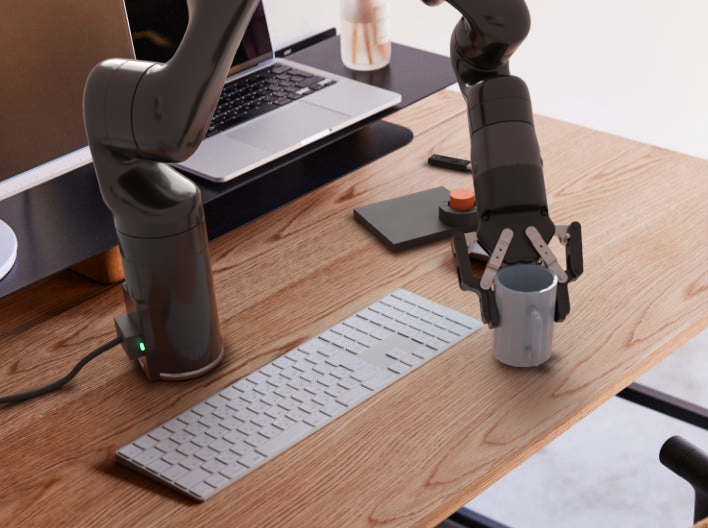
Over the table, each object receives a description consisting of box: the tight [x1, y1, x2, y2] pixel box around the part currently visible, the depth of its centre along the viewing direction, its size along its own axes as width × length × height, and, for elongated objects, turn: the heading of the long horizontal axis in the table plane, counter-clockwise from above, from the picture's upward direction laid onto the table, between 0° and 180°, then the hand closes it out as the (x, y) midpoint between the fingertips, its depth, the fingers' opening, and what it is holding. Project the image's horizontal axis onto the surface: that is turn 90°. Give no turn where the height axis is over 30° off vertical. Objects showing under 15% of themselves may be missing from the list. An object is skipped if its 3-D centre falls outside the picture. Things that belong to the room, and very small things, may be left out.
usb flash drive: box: [427, 153, 472, 172], centre depth 158 cm, size 8×2×1 cm, turn 59°
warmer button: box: [450, 188, 475, 210], centre depth 141 cm, size 3×3×2 cm
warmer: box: [352, 185, 478, 253], centre depth 143 cm, size 15×13×3 cm
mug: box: [490, 263, 558, 368], centre depth 113 cm, size 9×6×9 cm
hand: (526, 323), depth 112 cm, fingers closed on mug, 6 cm apart
